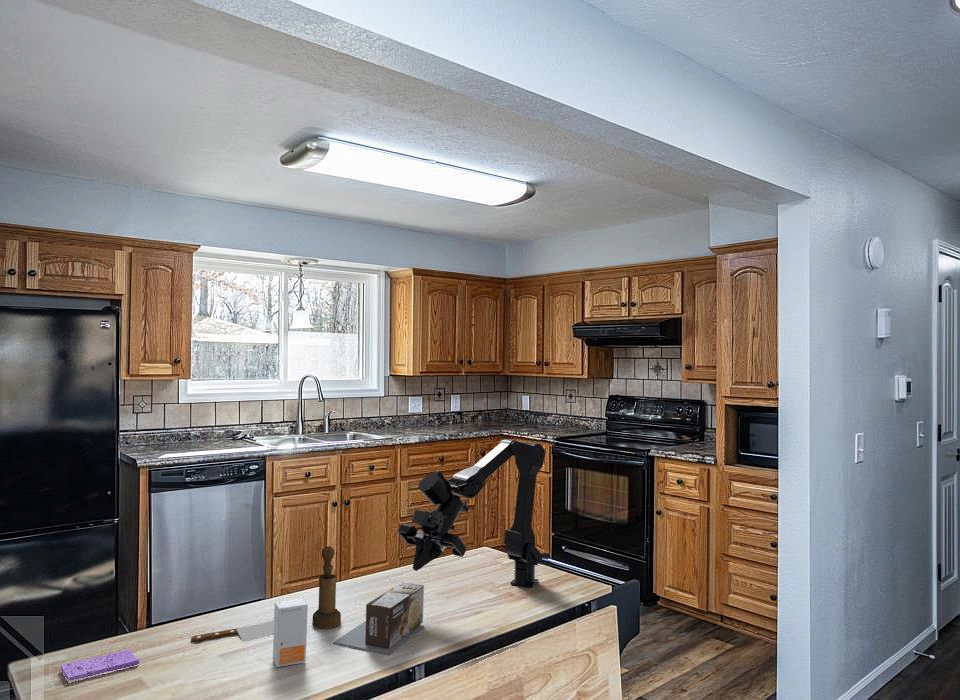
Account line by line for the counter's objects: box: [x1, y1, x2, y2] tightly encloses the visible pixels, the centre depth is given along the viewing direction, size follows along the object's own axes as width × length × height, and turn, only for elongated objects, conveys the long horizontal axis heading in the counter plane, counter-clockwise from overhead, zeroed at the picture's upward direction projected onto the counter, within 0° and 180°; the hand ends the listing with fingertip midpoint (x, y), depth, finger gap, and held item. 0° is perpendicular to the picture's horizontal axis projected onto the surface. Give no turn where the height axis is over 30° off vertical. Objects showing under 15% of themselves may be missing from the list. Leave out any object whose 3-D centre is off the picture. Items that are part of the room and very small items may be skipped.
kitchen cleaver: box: [190, 619, 274, 644], centre depth 153 cm, size 24×1×10 cm
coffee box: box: [365, 581, 425, 648], centre depth 154 cm, size 9×6×16 cm
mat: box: [332, 620, 425, 656], centre depth 153 cm, size 16×14×1 cm
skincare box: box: [272, 598, 309, 668], centre depth 139 cm, size 6×4×12 cm
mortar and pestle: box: [311, 545, 342, 630], centre depth 160 cm, size 7×6×18 cm
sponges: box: [60, 648, 140, 681], centre depth 135 cm, size 7×13×2 cm, turn 131°
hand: (414, 569), depth 163 cm, fingers closed
